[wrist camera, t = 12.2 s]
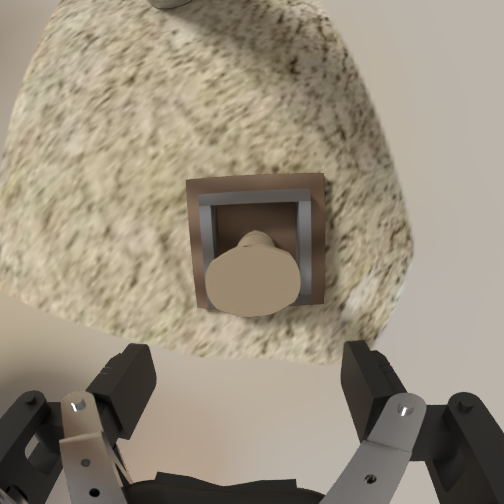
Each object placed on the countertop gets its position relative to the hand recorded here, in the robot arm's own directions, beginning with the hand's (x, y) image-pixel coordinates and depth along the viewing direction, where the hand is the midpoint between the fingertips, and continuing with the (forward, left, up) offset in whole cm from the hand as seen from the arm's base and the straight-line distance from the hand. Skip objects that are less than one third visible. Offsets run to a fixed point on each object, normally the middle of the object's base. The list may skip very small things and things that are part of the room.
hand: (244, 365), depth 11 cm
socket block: (0, 0, -25) cm, 25 cm away
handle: (0, 0, -24) cm, 24 cm away
